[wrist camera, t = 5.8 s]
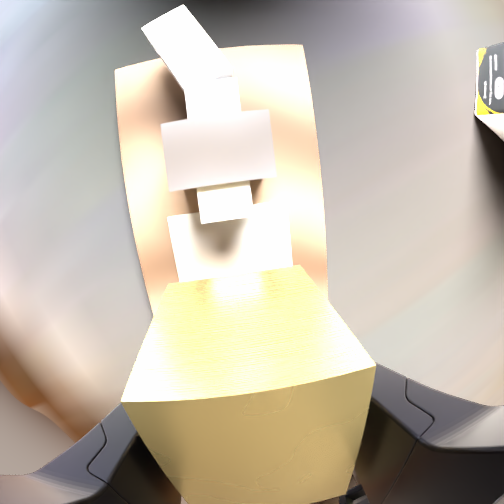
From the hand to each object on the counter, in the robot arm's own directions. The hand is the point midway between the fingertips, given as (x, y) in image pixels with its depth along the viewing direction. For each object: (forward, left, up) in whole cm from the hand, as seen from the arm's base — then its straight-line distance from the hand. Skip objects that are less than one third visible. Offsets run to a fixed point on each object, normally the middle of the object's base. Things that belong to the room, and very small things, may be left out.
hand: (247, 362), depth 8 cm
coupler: (0, 0, -1) cm, 1 cm away
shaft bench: (0, 0, -9) cm, 9 cm away
